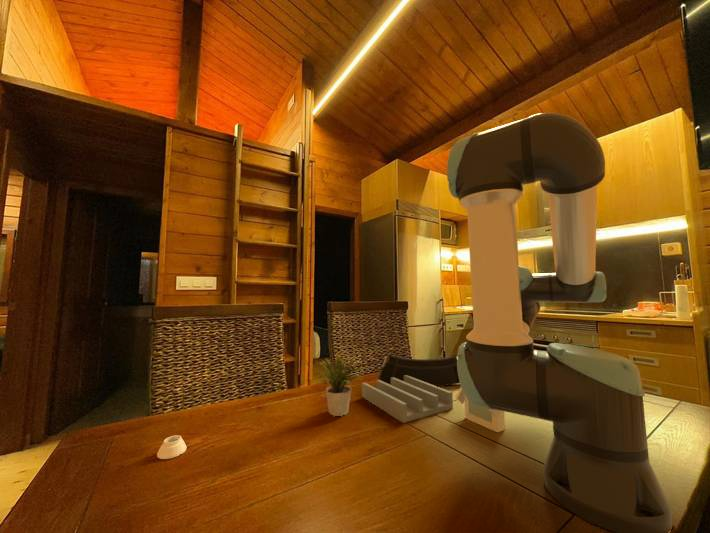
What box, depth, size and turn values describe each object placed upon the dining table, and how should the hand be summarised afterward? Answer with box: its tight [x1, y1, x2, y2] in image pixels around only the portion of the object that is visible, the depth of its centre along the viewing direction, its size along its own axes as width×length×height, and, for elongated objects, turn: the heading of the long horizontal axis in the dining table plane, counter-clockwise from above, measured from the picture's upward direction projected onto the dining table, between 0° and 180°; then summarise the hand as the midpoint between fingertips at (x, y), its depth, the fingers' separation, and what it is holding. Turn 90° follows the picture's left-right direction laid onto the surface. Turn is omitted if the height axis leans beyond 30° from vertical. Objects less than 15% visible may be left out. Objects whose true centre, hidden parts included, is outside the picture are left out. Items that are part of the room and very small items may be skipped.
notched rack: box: [361, 375, 454, 424], centre depth 85 cm, size 18×20×4 cm
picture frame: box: [464, 394, 506, 433], centre depth 72 cm, size 3×9×12 cm, turn 30°
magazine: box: [377, 353, 460, 387], centre depth 101 cm, size 17×3×30 cm
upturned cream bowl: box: [156, 434, 187, 460], centre depth 58 cm, size 5×3×5 cm
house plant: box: [318, 350, 366, 417], centre depth 77 cm, size 14×14×16 cm
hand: (475, 406), depth 70 cm, fingers closed on picture frame, 9 cm apart
